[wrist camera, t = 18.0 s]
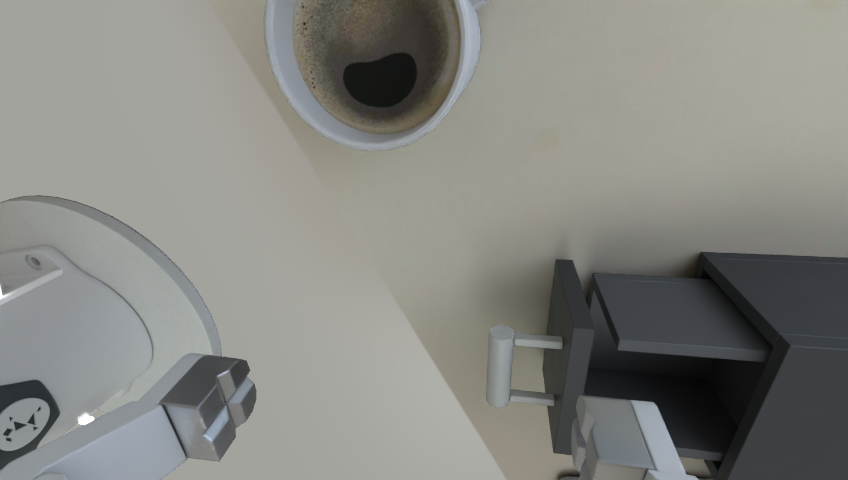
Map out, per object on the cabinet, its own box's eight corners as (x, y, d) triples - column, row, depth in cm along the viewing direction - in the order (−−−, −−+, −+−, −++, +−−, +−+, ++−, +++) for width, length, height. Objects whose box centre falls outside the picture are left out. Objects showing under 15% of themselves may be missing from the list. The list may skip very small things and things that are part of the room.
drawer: (487, 363, 35) (484, 444, 28) (491, 256, 30) (489, 321, 23) (706, 383, 32) (764, 479, 25) (748, 267, 27) (835, 346, 20)
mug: (344, 108, 28) (272, 140, 19) (341, -59, 23) (247, -119, 15) (500, 126, 27) (501, 168, 18) (528, -47, 22) (548, -105, 13)
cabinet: (663, 376, 33) (720, 494, 25) (700, 251, 28) (790, 345, 19) (855, 393, 31) (993, 530, 22) (935, 261, 26) (1156, 372, 17)
